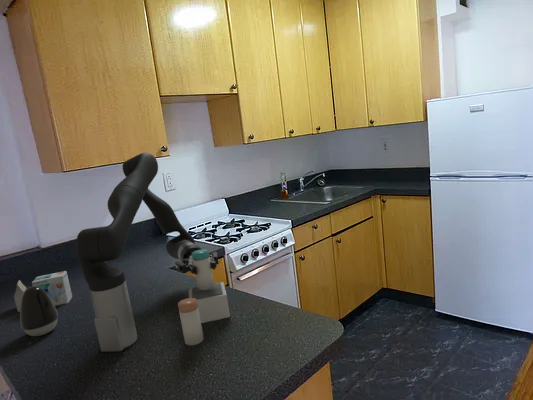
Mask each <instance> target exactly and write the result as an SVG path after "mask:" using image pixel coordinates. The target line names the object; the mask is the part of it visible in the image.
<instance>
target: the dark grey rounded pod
mask: <svg viewBox="0 0 533 400" xmlns="http://www.w3.org/2000/svg"><path fill="white" fill-rule="evenodd" d="M58 318H59V313H58V311H57V308H56V306H54V304H53V302H52V300H51V299H50V297H49V296H48V294H47V293H46V292H45V291H44V290H43V289H42V288H40V287H38V286H29V285H27V286H26V290H25V292H24V293H23V296H22V299H21V305H20V312H19V320H20V321H19V322H20V327H21V329H22V330H23V331H24V332H25V334H27V335H29V336H31V337H41V336H44V335H47V334H48V333H50V332H51V331H53V330H54V329H55V327H56V326H57V324H58Z"/></svg>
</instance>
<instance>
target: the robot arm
mask: <svg viewBox="0 0 533 400" xmlns="http://www.w3.org/2000/svg"><path fill="white" fill-rule="evenodd" d="M122 172H123V174H124V177H125V178H123V179H122V180H121V181H120V182H119V183H118V184H117V185H116V186H115V187H114V189H113V191H112V192H111V194H110V196H109V197H108V200H107V209H108V213H109V214H110V215H111V217H112V219H113V220H112V221H111V223H110V224H109V225H105V226H99V227H97V226H96V227H90V228H85V229H81V230H80V231H79V232H78V235H77V236H76V241H75V243H76V250H77V251H76V252H77V255H78V259H79V264H80V266H81V270H82V274H83V276H84V280H85V282H86V283H87V285H88V290H89V293H90V296H91V303H92V305H93V310H94V315H95V318H94V326H95V330H96V334H97V339H98V342H99V346H100V351H101V352H103V353H104V352H122V351H123V350H124V349H126V348H128V347H130V346H132V345H133V344H135V342H136V341H137V340H138V333H137V329H136V324H135V320H134V314H133V309H132V305H131V300H130V296H129V290H128V286H127V280H126V276H125V272H124V271H123V270H122V269H120V268H117V267H116V268H115V267H113V266H110V265H108V264H107V263H106V262H110V261H113V260H117V259H119V258H120V257H121V255H122V254H123V252H124V251H125V247H126V243H127V240H128V237H129V233H130V230H131V227H132V225H133V221H134V219H135V217H136V215H137V213H138V211H139V209H140V207H141V204H142V202H143V203H144V204H145V205H146V207H147V208H148V209H149V211H150V212H151V213H152V215H153V218H155V221H156V223H157V224H158V226H159V228H160V231H162V233H163V234H164V235H167V234H168V235H169V234H171V233H174V232H175V233H179V234H177V236H175V237H173V238H171V239H169V240H168V241H167V242H166V244H165V250H166V253H167V254H168V255H169V256H170V257H171V258H173V259H175V260H177V261H175V262H174V265H175V270H176V271H178V272H180V273H183V274H186V273H188V272H189V273H191V274H194V275H195V276H196V274H197V268H196V266H195V265H194V264H193V258H192V252H194V251H197V250H202V249H203V248H201V247H200V246H199V245H197V244H196V241H195V238H194V237H193V235H192V234H190V233H189V231H188V230H186V229H185V228H184V226H183V225H182V224H181V222H180V221H179V219H178V217H177V215H176V213H175V211H174V210H173V208H172V207H171V205H170V204H169V203H168V202H166V201H165V200H163V199H162V198H161V197H159V196H157V195H156V194H155V193H154V192H152V191H151V190H150V189H149V186H150V185H151V183H152V182H153V180H154V179H155V177H157V174H158V172H159V163H158V160H157V158H156V157H155V156H154V155H153V154H151V153H150V152H142V153H139V154H137V155H134V156H132V157H130V158H129V159H127V160H125V161H124V162H123V164H122ZM209 257H210V263H211V269H212V271H213V270H216V269H217V265H219V263H220V261H219V258H218V252H217V251H213V252H212V253H211V254H209ZM178 260H179V261H178Z"/></svg>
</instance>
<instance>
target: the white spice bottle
mask: <svg viewBox="0 0 533 400" xmlns="http://www.w3.org/2000/svg"><path fill="white" fill-rule="evenodd" d="M177 307H178V308H177V309H178V312H179V317H180V323H181V328H182V333H183V340H184V344H185V345H186V346H196V345H198V344H200V343H202V342H203V341H204V340H205V339H204V337H205V336H204V332H203V327H202V323H201V320H200V315H199V309H198V304H197V299H195V298H189V297H188V298H185V299H181V300H180V301H179V302H178V303H177Z"/></svg>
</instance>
